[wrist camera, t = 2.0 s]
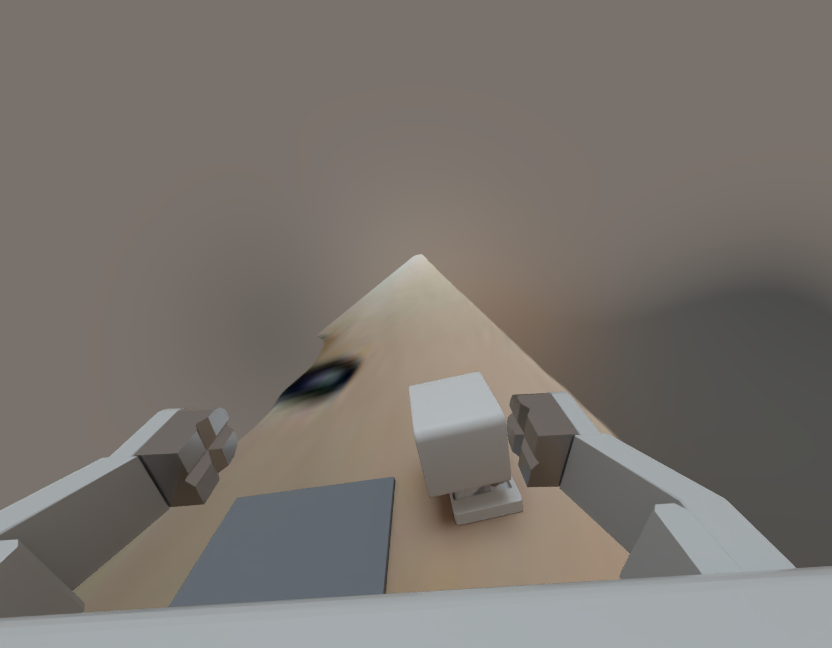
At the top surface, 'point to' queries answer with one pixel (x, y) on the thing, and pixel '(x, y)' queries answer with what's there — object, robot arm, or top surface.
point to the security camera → (464, 447)
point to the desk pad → (297, 546)
